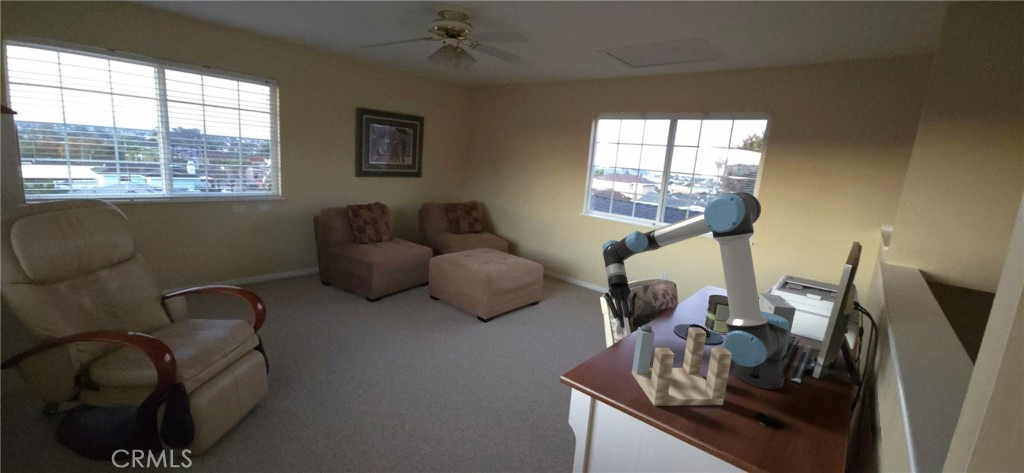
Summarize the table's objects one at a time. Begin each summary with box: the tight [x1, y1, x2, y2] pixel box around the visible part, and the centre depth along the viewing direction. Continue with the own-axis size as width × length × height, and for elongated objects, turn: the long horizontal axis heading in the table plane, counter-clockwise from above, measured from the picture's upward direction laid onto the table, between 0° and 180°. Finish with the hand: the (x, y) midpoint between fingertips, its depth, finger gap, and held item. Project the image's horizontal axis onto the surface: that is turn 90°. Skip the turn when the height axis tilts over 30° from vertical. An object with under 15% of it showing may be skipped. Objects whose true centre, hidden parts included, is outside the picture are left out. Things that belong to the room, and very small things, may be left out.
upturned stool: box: [631, 327, 732, 407], centre depth 135 cm, size 22×18×17 cm
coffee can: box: [704, 294, 730, 335], centre depth 182 cm, size 10×10×14 cm
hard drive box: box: [758, 293, 796, 354], centre depth 167 cm, size 16×8×20 cm, turn 168°
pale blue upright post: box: [632, 324, 656, 374], centre depth 140 cm, size 4×4×16 cm
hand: (627, 336), depth 153 cm, fingers closed
